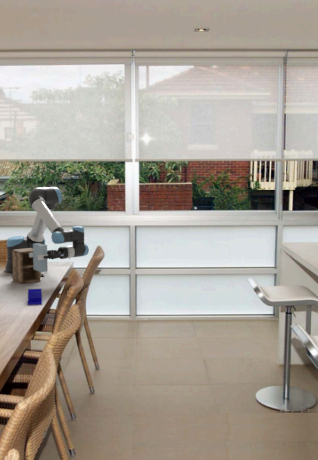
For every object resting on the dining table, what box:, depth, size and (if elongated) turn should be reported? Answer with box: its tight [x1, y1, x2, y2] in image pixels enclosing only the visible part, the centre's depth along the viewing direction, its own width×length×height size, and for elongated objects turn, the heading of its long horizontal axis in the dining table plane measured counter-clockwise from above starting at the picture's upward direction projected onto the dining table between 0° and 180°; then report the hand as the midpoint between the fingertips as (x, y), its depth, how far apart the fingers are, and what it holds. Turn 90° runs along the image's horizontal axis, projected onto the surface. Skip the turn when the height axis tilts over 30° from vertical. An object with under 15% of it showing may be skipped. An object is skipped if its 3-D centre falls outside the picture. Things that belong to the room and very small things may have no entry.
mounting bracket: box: [27, 288, 43, 306], centre depth 328 cm, size 18×7×6 cm, turn 11°
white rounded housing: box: [40, 271, 48, 278], centre depth 398 cm, size 17×5×10 cm, turn 4°
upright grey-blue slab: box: [33, 243, 49, 272], centre depth 362 cm, size 10×5×16 cm, turn 40°
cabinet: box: [11, 248, 42, 285], centre depth 377 cm, size 12×14×20 cm
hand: (33, 256), depth 359 cm, fingers closed on upright grey-blue slab, 10 cm apart
